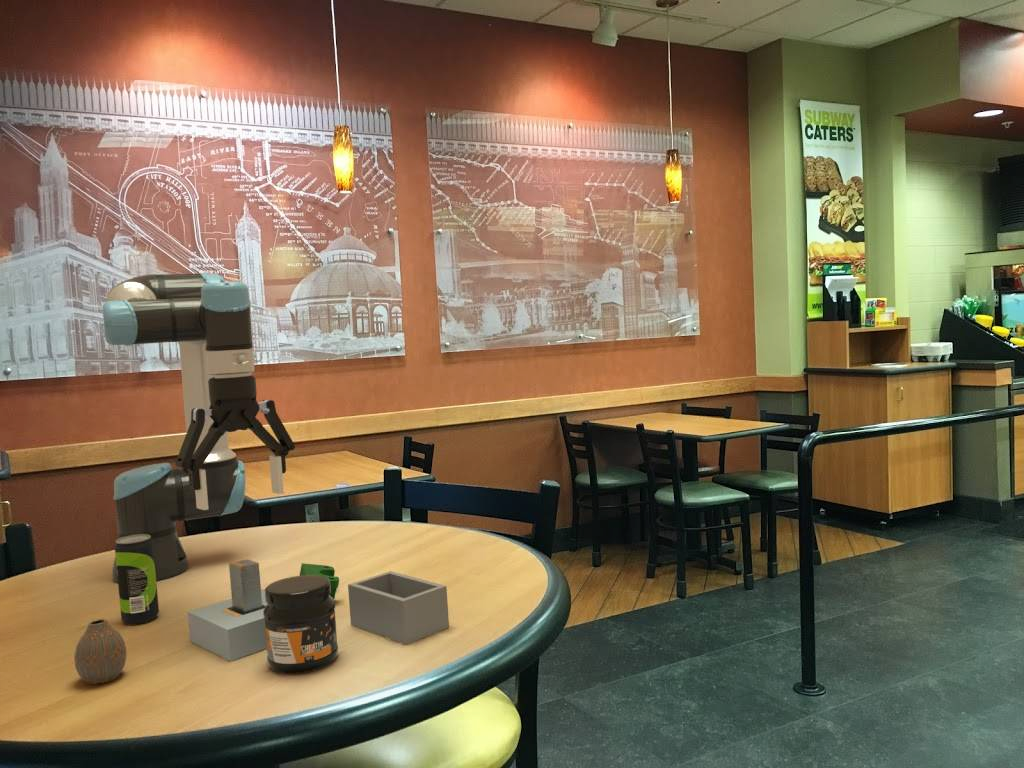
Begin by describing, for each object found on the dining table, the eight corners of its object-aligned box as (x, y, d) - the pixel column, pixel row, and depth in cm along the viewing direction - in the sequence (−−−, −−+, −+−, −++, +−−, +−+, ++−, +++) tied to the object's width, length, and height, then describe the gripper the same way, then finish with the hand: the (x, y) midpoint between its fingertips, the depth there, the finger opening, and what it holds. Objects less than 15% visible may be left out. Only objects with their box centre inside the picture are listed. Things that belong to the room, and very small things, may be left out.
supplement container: (272, 682, 117) (265, 600, 116) (263, 657, 126) (257, 581, 126) (345, 666, 121) (339, 587, 120) (331, 643, 130) (326, 569, 130)
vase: (88, 671, 125) (83, 615, 124) (135, 667, 125) (130, 611, 125) (68, 691, 118) (62, 631, 117) (117, 686, 118) (112, 627, 118)
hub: (190, 641, 135) (187, 611, 135) (266, 616, 145) (264, 588, 145) (230, 661, 125) (227, 629, 125) (309, 633, 135) (307, 603, 135)
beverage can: (167, 614, 149) (159, 534, 148) (141, 627, 143) (133, 543, 142) (140, 612, 151) (132, 533, 150) (113, 624, 145) (106, 542, 144)
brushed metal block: (234, 634, 135) (228, 562, 135) (252, 628, 138) (246, 558, 137) (246, 639, 133) (240, 566, 132) (264, 633, 135) (258, 561, 134)
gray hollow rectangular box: (350, 624, 138) (347, 584, 138) (393, 609, 145) (390, 571, 144) (406, 644, 128) (403, 601, 127) (449, 627, 134) (446, 586, 134)
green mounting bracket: (330, 626, 150) (340, 587, 147) (297, 624, 148) (307, 584, 145) (327, 585, 161) (337, 547, 158) (296, 582, 159) (306, 544, 156)
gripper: (166, 383, 124) (177, 519, 126) (309, 369, 142) (317, 489, 144) (146, 382, 129) (158, 512, 131) (286, 369, 147) (295, 484, 149)
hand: (241, 500), depth 137 cm, fingers open, 13 cm apart
